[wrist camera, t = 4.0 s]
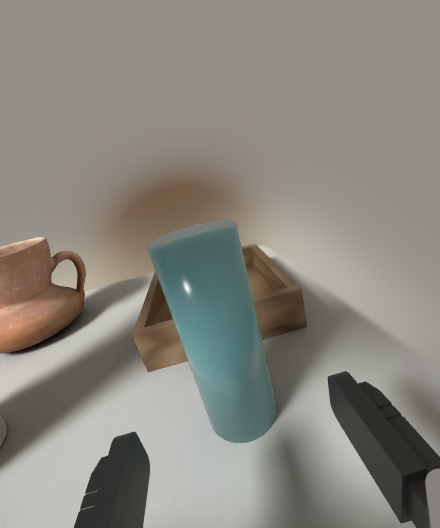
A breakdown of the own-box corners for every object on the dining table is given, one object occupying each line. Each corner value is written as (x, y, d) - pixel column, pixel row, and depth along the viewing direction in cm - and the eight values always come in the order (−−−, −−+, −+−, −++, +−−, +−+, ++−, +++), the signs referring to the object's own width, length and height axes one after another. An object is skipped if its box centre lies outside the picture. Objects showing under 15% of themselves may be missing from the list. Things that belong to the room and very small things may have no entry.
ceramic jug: (-36, 389, 30) (-114, 286, 25) (-17, 341, 42) (-68, 264, 37) (112, 318, 39) (75, 232, 35) (94, 295, 51) (65, 228, 46)
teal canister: (212, 452, 17) (139, 260, 12) (207, 390, 21) (153, 236, 17) (287, 430, 17) (245, 231, 12) (264, 373, 22) (228, 216, 17)
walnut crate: (147, 371, 25) (132, 336, 24) (163, 294, 42) (155, 270, 41) (306, 326, 26) (301, 288, 24) (259, 268, 43) (254, 243, 41)
